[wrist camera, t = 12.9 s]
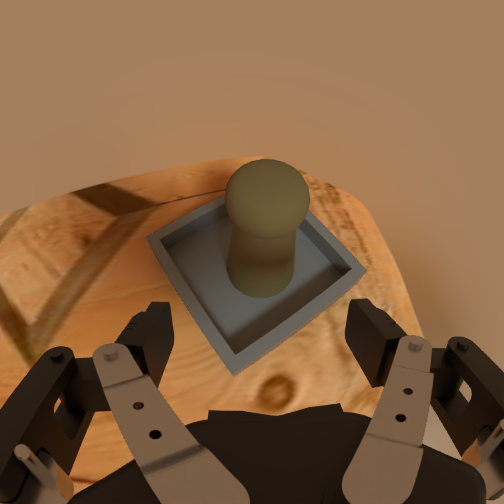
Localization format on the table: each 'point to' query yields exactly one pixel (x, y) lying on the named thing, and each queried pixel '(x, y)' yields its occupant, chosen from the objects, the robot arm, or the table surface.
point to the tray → (236, 303)
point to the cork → (264, 225)
